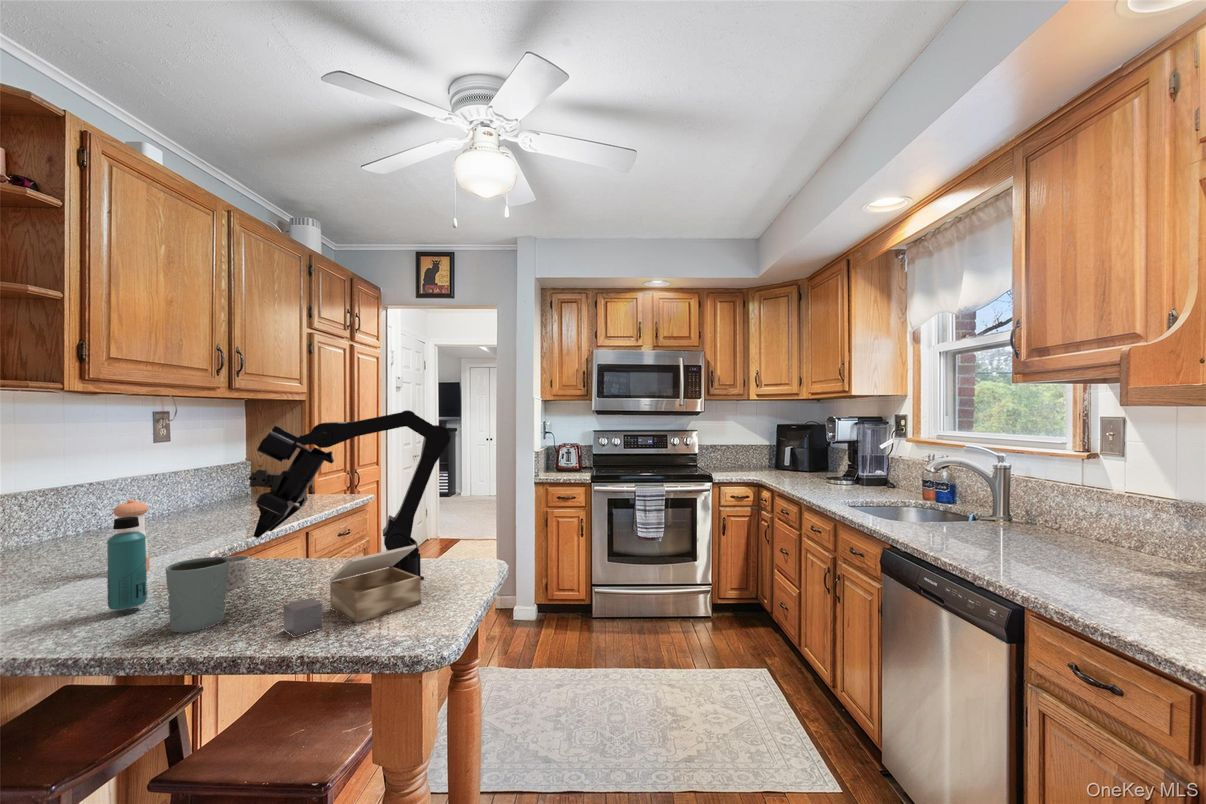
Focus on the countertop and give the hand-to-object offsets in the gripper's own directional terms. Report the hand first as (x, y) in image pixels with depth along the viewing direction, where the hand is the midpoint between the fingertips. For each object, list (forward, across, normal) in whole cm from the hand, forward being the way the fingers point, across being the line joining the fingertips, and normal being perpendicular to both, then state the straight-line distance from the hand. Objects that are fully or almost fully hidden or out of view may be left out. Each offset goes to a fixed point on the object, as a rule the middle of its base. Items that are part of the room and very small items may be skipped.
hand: (262, 533), depth 122 cm
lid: (-7, +12, +24) cm, 28 cm away
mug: (+18, -11, -2) cm, 21 cm away
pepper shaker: (+31, -36, -28) cm, 56 cm away
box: (+1, +12, +29) cm, 32 cm away
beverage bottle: (+26, -2, -15) cm, 29 cm away
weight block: (+7, +21, +19) cm, 30 cm away
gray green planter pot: (+17, +11, +1) cm, 21 cm away
